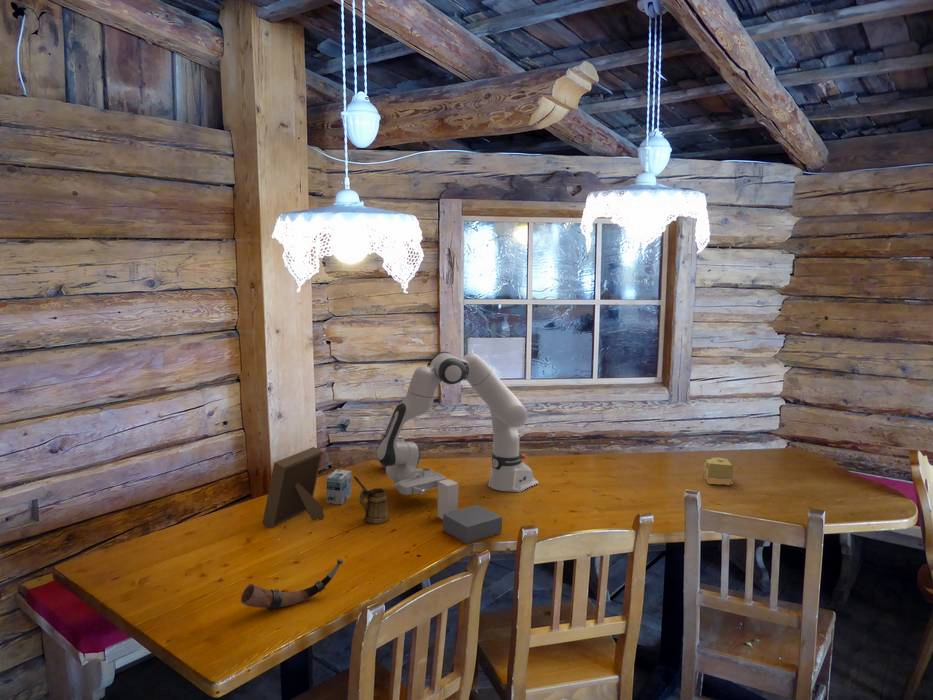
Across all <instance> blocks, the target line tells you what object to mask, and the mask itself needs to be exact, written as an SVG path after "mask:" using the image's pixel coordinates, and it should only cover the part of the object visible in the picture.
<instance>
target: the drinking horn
mask: <svg viewBox="0 0 933 700" xmlns="http://www.w3.org/2000/svg"><path fill="white" fill-rule="evenodd" d="M336 562H337V563H336V565H335V566H334V568H332V570H331V571H330V572H329V573H327V574H326V576H325V577H323V578H322V580H317V581H316V582H315V583H314V584H313V585H312V586H309V587H307V588H304V589H300V590H297V591H280V590H279V588H275V589H272V588H271V589H266V588H264V587H260V586H258V585H256V584H254V583H249V584H248V585H247V586H246V587H245V588H244V590H243V592H242V594H241V597H240V602H241V605H245V606H247V607H251V608H261V609H263V608H264V609H267V610H278V609H279V608H282V607H288V606H289V607H290V606H292V605H296V604H299V603H301V602H304V601H306V600H309V599H310V598H312V597H314V596H315V595H316V594H318V593H321V592H322V591H324V590H325V588H326V586H327V585H328V584H329V583H330V582H331V581H332V580H333V579H334V577H335V575H336V574H337V572H338V570H339V568H340V566H341V565H342V564H343V563H344V561H343V560H342V559H341V558H336Z"/></svg>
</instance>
